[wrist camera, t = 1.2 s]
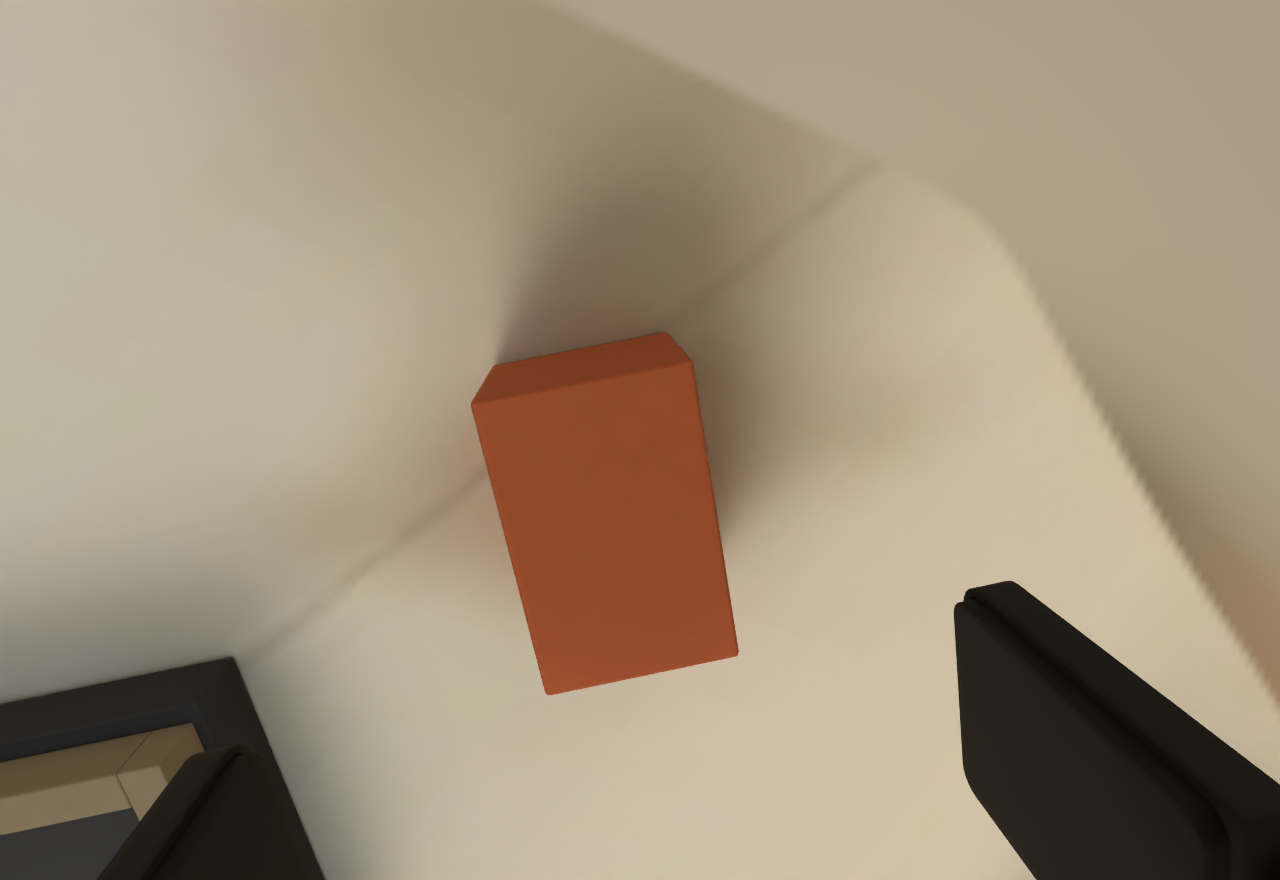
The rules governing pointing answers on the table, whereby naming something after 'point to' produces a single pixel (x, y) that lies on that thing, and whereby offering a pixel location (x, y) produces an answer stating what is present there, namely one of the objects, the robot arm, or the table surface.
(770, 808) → the table surface
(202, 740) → the backrest board
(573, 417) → the orange rectangular block
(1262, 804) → the robot arm
